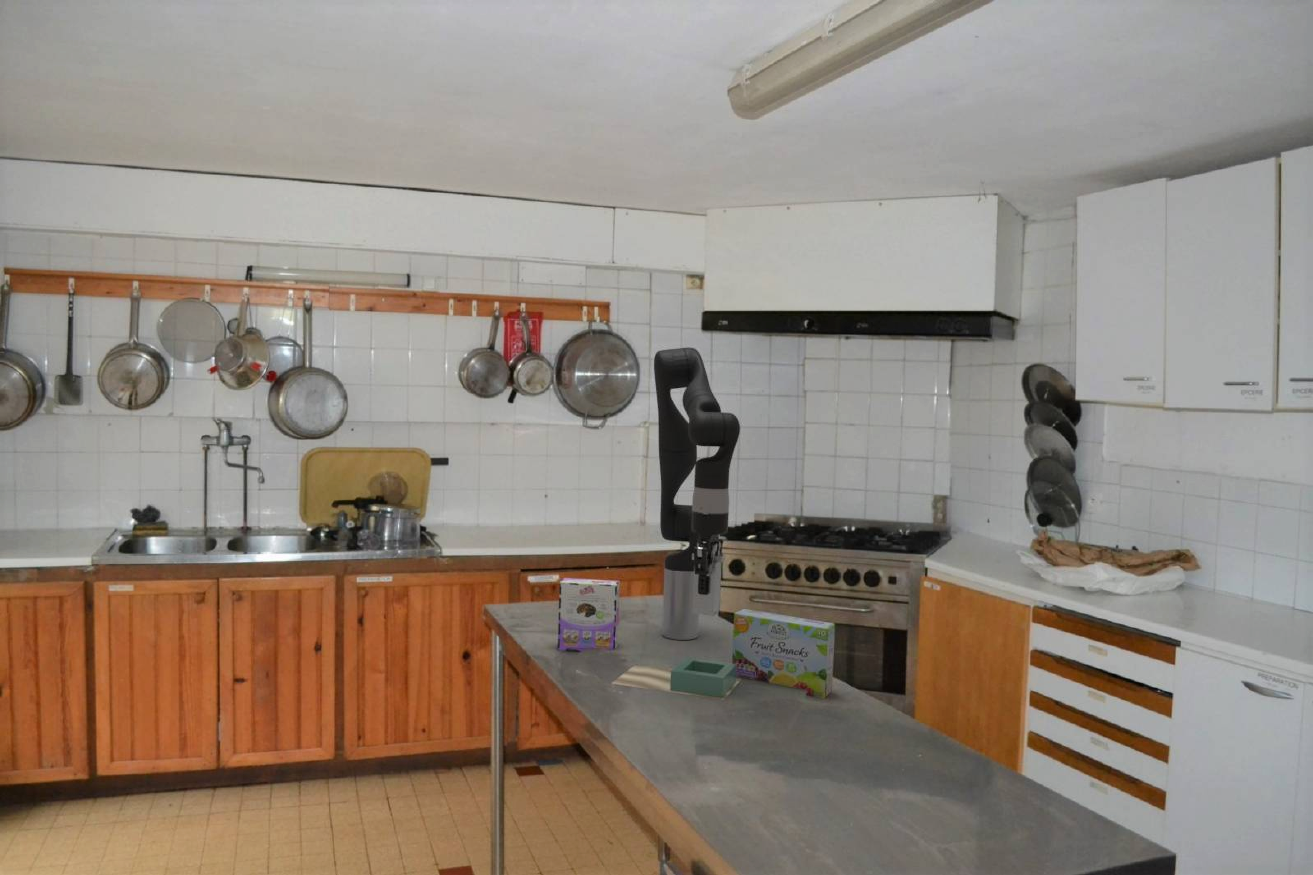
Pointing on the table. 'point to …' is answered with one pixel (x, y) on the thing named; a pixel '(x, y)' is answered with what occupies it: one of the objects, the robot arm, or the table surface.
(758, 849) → the table surface
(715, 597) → the stepped grey pillar
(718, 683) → the teal hollow square frame
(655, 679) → the board
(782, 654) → the snack box
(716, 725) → the table surface
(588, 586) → the candy box
